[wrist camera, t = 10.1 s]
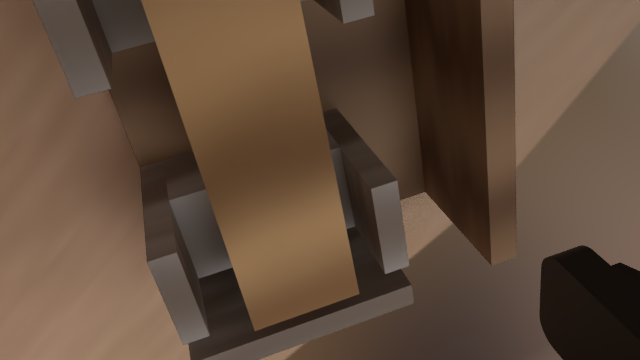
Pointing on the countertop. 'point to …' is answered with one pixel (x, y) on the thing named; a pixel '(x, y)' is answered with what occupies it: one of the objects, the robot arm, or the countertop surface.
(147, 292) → the countertop surface
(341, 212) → the rail
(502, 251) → the bracket board
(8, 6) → the countertop surface
